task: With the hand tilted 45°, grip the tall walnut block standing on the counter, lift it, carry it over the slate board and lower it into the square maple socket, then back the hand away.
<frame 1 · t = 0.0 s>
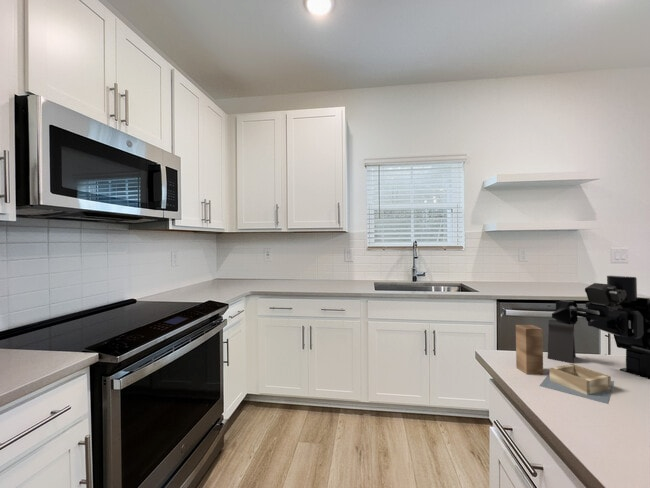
hand: (570, 319, 78), 17 cm above the countertop, tool horizontal, fingers open, 9 cm apart
maple socket: (579, 384, 76), resting on slate board
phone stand: (561, 361, 95), on the countertop
walnut block: (529, 374, 84), on the countertop
slate board: (577, 387, 76), on the countertop
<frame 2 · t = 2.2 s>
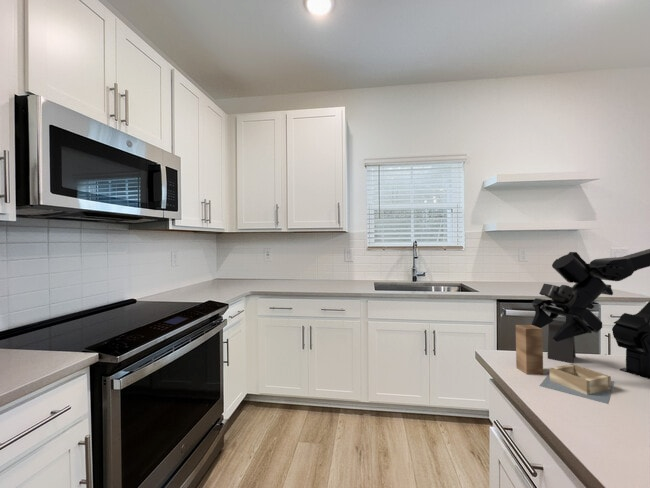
hand: (542, 335, 85), 11 cm above the countertop, tool tilted 45°, fingers open, 9 cm apart
nothing on the countertop moved.
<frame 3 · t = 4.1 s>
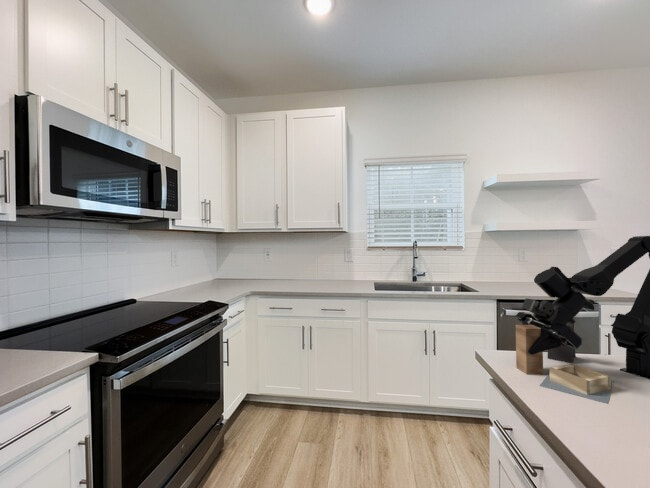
hand: (523, 350, 85), 7 cm above the countertop, tool tilted 45°, fingers closed on walnut block, 4 cm apart
walnut block: (529, 374, 84), on the countertop, touching gripper
everything else where it was.
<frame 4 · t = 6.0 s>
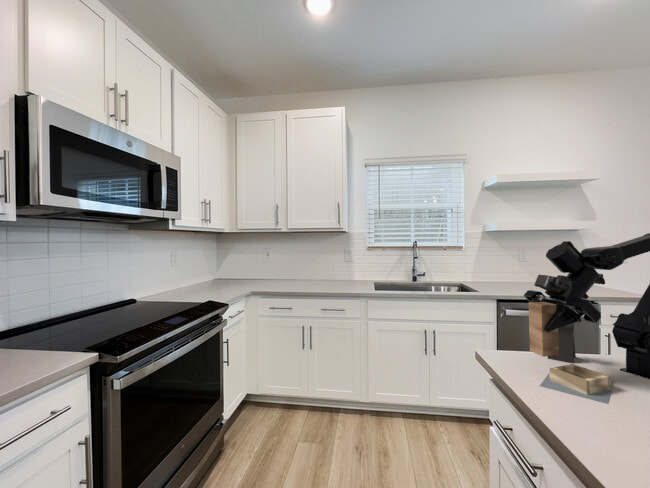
hand: (538, 328, 82), 13 cm above the countertop, tool tilted 45°, fingers closed on walnut block, 4 cm apart
walnut block: (544, 353, 82), point 7 cm above the countertop, touching gripper
everything else where it was.
when the fingers open (9 cm above the countertop, at t = 8.0 s): walnut block drops 1 cm, resting on slate board.
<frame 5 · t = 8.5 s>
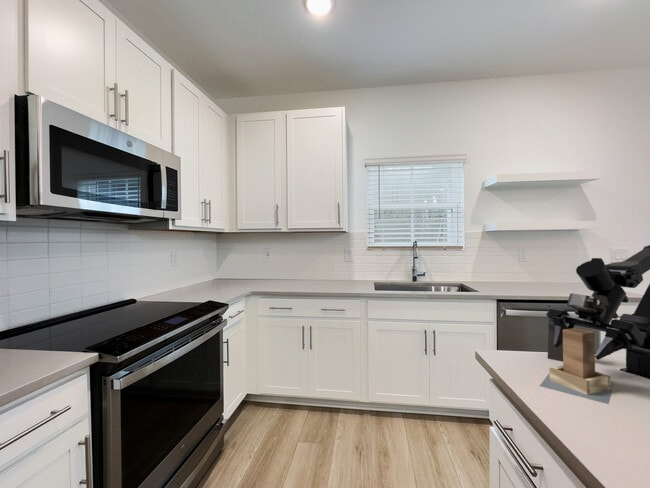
hand: (574, 352, 76), 9 cm above the countertop, tool tilted 45°, fingers open, 9 cm apart
walnut block: (579, 384, 76), point 1 cm above the countertop, touching slate board
everything else where it was.
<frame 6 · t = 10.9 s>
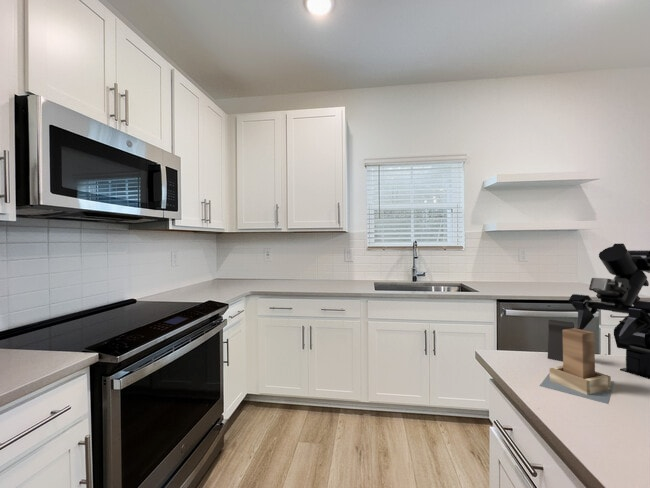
hand: (598, 333, 79), 13 cm above the countertop, tool tilted 45°, fingers open, 9 cm apart
nothing on the countertop moved.
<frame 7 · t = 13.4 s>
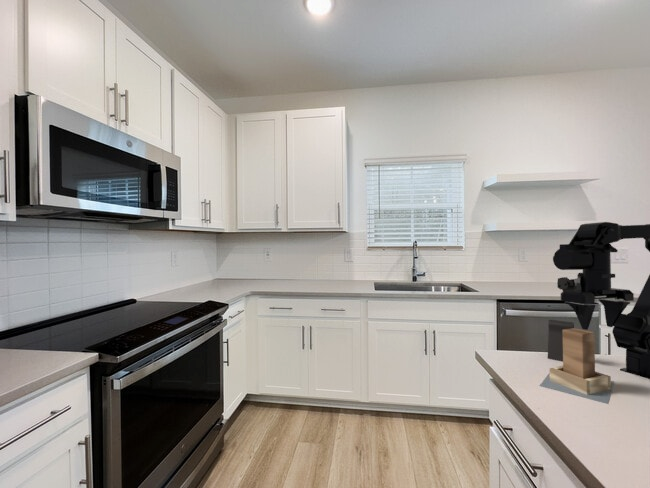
hand: (597, 328, 83), 13 cm above the countertop, tool pointing down, fingers open, 9 cm apart
nothing on the countertop moved.
at the end: walnut block 0.0 cm off-centre on the maple socket, point 0.0 cm above the maple socket's base; walnut block tilted 0°; the gripper is holding nothing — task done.
